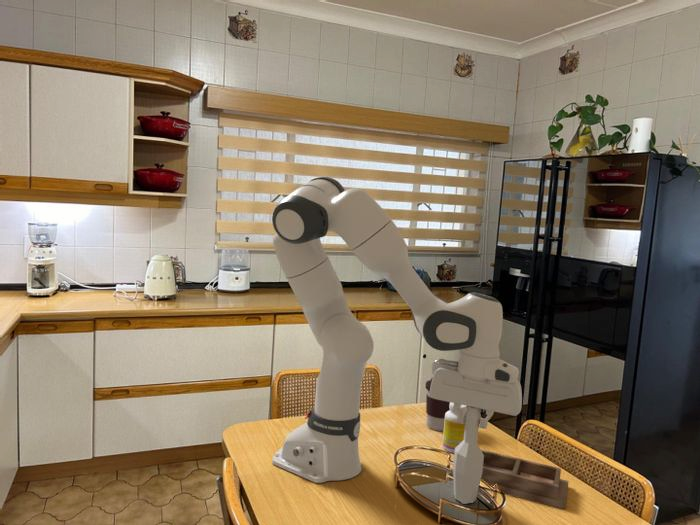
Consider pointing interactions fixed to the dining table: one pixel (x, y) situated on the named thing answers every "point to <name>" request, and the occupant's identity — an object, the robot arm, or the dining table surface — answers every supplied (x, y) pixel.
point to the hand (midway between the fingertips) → (472, 425)
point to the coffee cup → (435, 410)
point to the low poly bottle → (468, 459)
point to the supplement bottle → (453, 429)
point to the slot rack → (525, 479)
